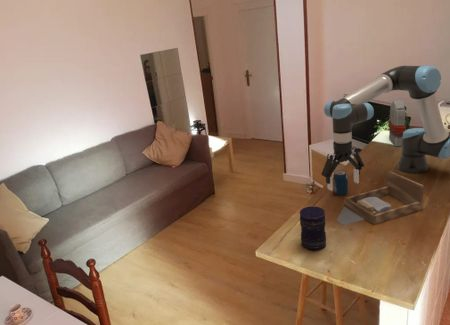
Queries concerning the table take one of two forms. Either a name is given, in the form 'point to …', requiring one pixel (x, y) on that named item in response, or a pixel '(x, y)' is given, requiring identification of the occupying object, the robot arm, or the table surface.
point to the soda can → (340, 182)
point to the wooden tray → (395, 187)
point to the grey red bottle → (397, 122)
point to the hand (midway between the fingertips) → (343, 186)
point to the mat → (348, 217)
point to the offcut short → (365, 205)
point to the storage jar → (313, 228)
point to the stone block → (378, 204)
